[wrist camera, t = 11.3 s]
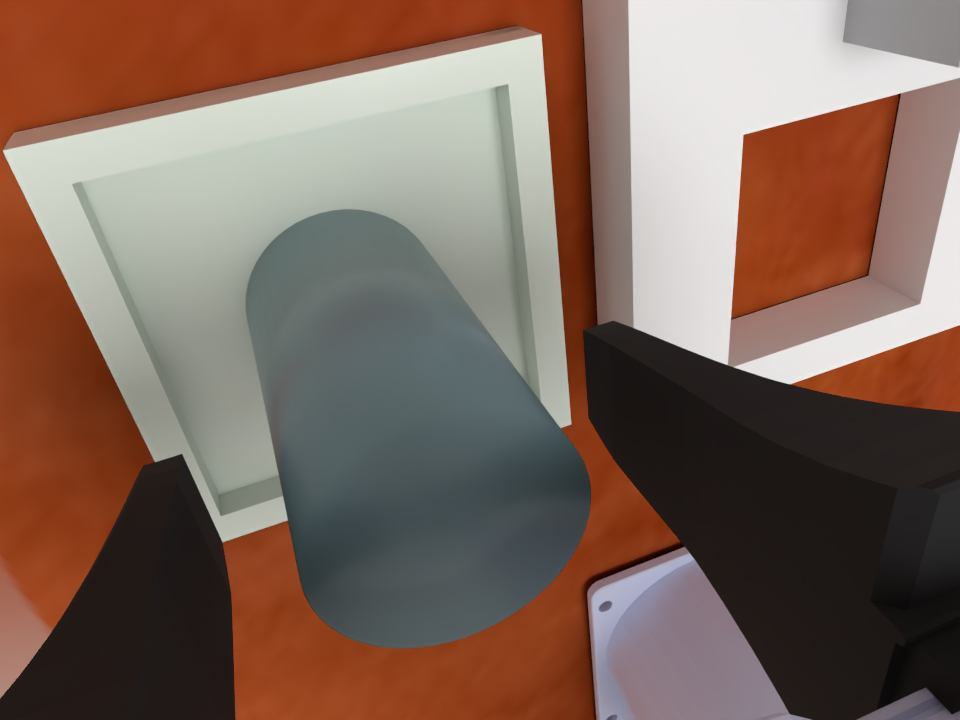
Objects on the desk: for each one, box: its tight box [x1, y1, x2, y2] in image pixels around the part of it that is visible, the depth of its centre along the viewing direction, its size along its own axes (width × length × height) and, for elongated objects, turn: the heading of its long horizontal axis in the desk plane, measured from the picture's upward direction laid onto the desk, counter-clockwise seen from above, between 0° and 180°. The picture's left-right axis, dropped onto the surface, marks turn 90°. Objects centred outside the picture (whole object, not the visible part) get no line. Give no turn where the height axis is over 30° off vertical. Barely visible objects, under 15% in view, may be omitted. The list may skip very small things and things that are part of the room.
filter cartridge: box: [246, 209, 591, 648], centre depth 14 cm, size 4×4×8 cm
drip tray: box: [3, 26, 571, 542], centre depth 17 cm, size 10×10×1 cm
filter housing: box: [582, 0, 960, 384], centre depth 17 cm, size 15×12×5 cm
